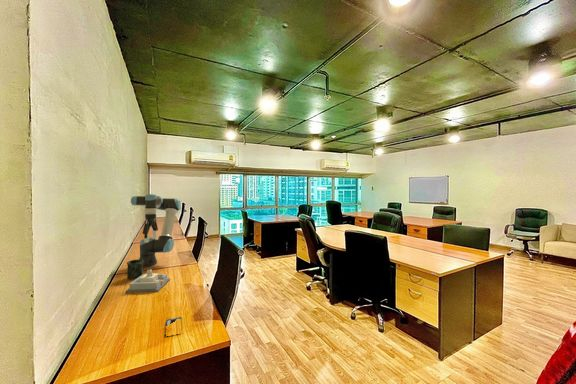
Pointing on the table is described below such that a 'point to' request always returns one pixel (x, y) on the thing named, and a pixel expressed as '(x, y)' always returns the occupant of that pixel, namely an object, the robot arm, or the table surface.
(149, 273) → the post
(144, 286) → the grey walled tray
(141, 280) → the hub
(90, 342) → the table surface
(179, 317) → the smartphone
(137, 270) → the mug
